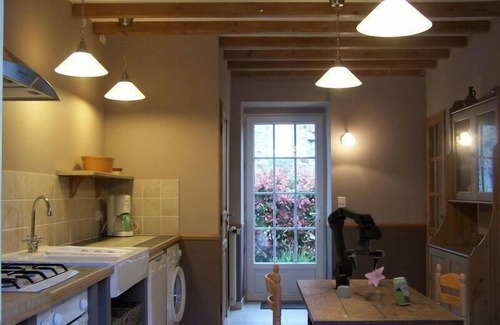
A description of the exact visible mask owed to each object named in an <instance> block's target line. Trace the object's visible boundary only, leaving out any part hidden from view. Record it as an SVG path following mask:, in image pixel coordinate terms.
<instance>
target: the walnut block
mask: <svg viewBox="0 0 500 325" xmlns="http://www.w3.org/2000/svg"><path fill="white" fill-rule="evenodd" d="M363 297H364V298H363V299H364V301H366V302H367V301H368V302H378V301H381V290H374V289H372V290H367V291H365V292H364V295H363Z"/></svg>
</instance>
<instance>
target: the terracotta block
mask: <svg viewBox="0 0 500 325" xmlns="http://www.w3.org/2000/svg"><path fill="white" fill-rule="evenodd" d="M367 290H373V283H371V284H368V283H360V284H358V295H359V296H364V292H365V291H367Z"/></svg>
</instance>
